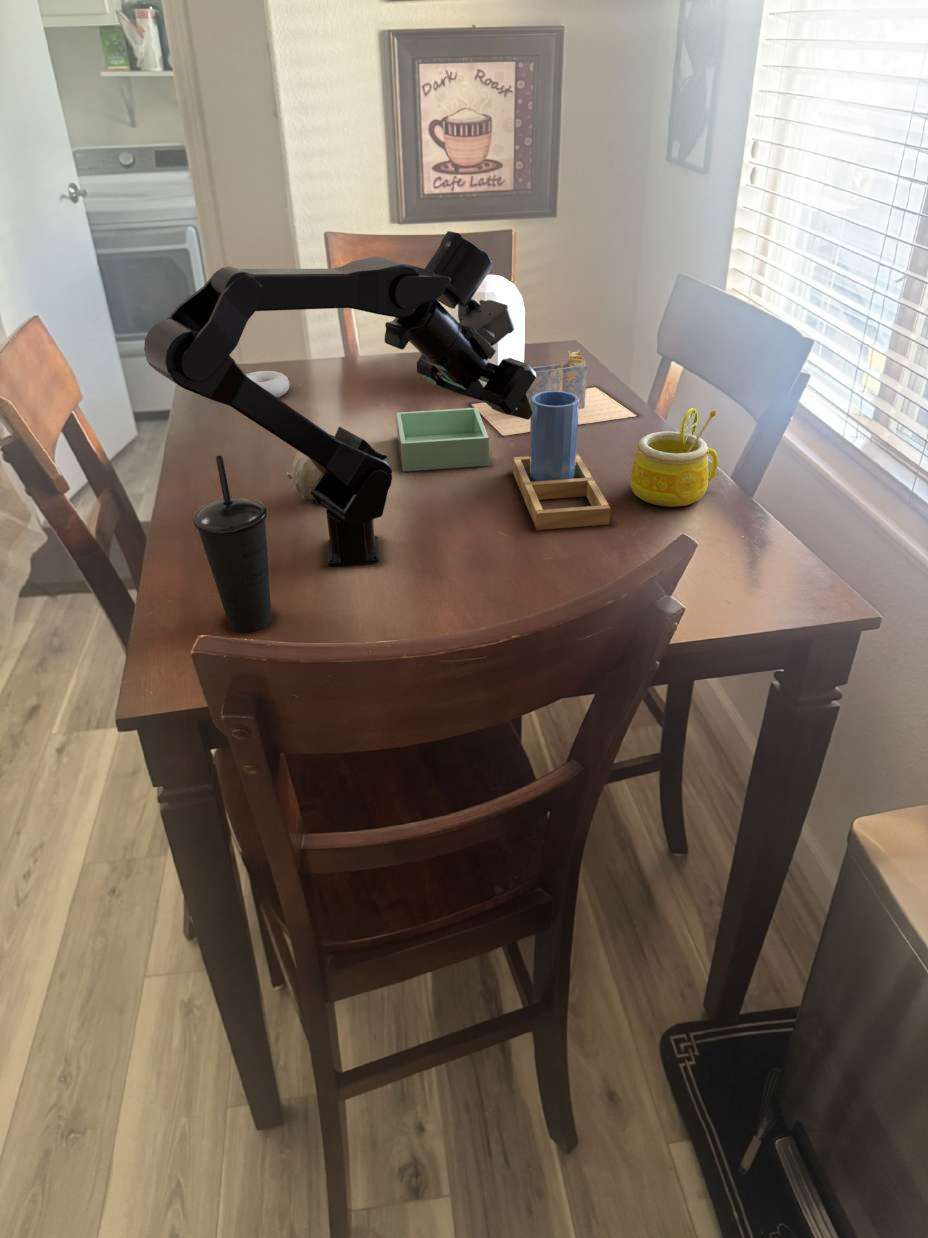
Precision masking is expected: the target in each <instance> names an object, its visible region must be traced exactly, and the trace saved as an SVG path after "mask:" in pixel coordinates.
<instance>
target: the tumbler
mask: <svg viewBox="0 0 928 1238" xmlns="http://www.w3.org/2000/svg"><path fill="white" fill-rule="evenodd" d="M531 409H532V412H533V414H532V416H531V422H530V432H529V456H530V464H529V474H528V477H529V480H530V482H535V481H549V480H563V479H576V477H575V466H576V453H577V448H578V447H577V446H578V445H577V444H578V430H579V429H578V428H579V425H578V412H579V398H578V396H576V395H574V394H572V393H569V392H564V391H545V392H540V393H537V394H535V395H533V396H532V398H531Z"/></svg>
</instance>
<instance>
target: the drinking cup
mask: <svg viewBox="0 0 928 1238" xmlns="http://www.w3.org/2000/svg"><path fill="white" fill-rule="evenodd" d="M215 461H216V466H217V472H218V477H219V482H220V487H221V492H222V497H223V498H220V499H217V500H214V501H211V502H209V503H206V504H205V505H203V506H201V507H199V508H198V509H197V510H196V511H195V512H194V514H193V516H192V523H193V526H194V527H195V528H196V529H197V531H198V533H199V536H200V539H201V542H202V546H203V549H204V552H205V555H206V558H207V562H208V564H209V568H210V571H211V573H212V576H213V580H214V583H215V586H216V589H217V592H218V595H219V599H220V603H221V605H222V608H223V611H224V613H225V617H226V620H227V623H228V627H230V628H231V630H233V631H235V632H238V633H253V632H257V631H260V630H262V629H265V628H266V627H267V626H269V625H270V623H271V622H272V603H271V602H272V601H271V588H270V587H271V586H270V573H269V557H268V542H267V528H266V518H267V516H268V509H267V507H266V505H265V504H264V503H263V502H261V501H260V500H257V499H253V498H249V497H231V494H230V489H229V484H228V479H227V473H226V468H225V463H224V456H222V455H216V456H215Z"/></svg>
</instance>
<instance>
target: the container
mask: <svg viewBox="0 0 928 1238" xmlns="http://www.w3.org/2000/svg"><path fill="white" fill-rule="evenodd" d="M471 299H473V300H475V301H476V302H477V303H479V301H480V300H484V301H487V300H492V301H496V302H499V303H503V304H506V305H507V306H508V309H509V311H510V314H511V317H512V320H513V323H514V326H515V329H514V331H513V332H512V333H508V334H507V335H506V336H505V337H503V338H502V339H501V340H500V341H499V342H497V343H496V344H495V345H493V346H492V347H493V348H494V349H495V350H496V352H495V354H494V355H493V357H492V358H491V359H488V360H487V362H490V363H492V364H495V365H498V366H499V364H500V363H501V361H502V360H503V359H507V358H513V359H515V360H518V361H521V362H524V363H525V327H526V326H525V322H526V321H525V320H526V319H525V318H526V311H525V305H524V299H523V296H522V294H521V293H520V291H519V290H518V288H517V286H516V285H515V283H513V282H512V281H510V280H509V279H507V278H505V277H504V276H502V275H497V274H487V276H486V277H485V279H484V280H483V282H482V283H481V285H480V286H479V288H478V289H477V291H476V292H475V294H474V295H473V297H472V298H471ZM479 304H480V303H479ZM452 317H453V318H454V319H455V320H456V321H457V322H458V323H459V322H460V321H459V318H458V304H457V306H456V307H455V309H453V311H452ZM479 381H480V382H481V384H482V385H483V386H484V387H485V385H486V384H487V382H484V381H482V380H479Z"/></svg>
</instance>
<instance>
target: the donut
mask: <svg viewBox="0 0 928 1238" xmlns="http://www.w3.org/2000/svg"><path fill="white" fill-rule="evenodd" d="M245 374H246V376H247V377H248V378H250V379H251V380H252V381H254V382H255V383H257V384H258V385H259V386H261V387H262V388H264V389H265V390H267V391H268V392H270V393H271V394H272V395H274V396H275V397H277V398H278V399H279V398H280V397H282V396H284V395H285V394H287V393H288V391H289V389H290V387H291V386H290V384H291V383H290V381H289V378H288V376H286V375H285V374H283V373H282V372H279V371H275V370H259V371H252V372H250V373H249V372H248V373H245Z"/></svg>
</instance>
